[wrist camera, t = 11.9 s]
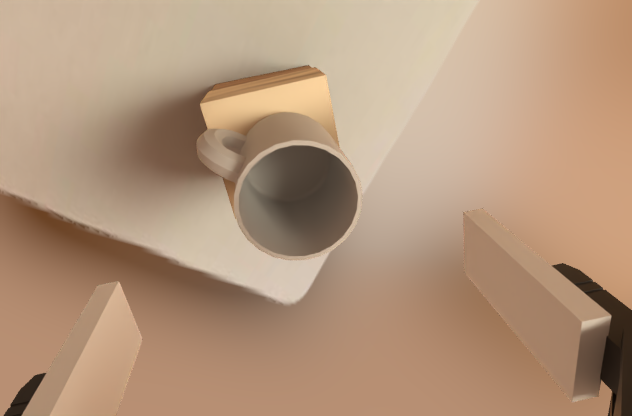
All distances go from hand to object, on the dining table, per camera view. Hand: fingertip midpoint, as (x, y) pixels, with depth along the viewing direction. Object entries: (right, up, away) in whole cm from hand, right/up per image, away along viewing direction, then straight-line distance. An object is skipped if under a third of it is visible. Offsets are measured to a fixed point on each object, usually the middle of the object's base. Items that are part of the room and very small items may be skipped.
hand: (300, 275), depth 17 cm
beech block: (-3, +9, +21) cm, 23 cm away
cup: (-3, +7, +16) cm, 17 cm away
